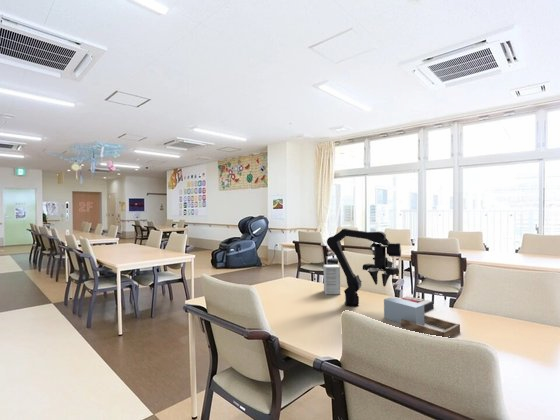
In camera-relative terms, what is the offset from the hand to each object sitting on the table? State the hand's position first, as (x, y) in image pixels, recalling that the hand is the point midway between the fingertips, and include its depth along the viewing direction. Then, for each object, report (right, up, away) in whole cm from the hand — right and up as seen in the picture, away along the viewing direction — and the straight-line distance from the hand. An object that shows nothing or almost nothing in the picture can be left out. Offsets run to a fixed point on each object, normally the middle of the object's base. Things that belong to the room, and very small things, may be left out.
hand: (380, 285), depth 160 cm
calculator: (+19, -12, +2) cm, 23 cm away
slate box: (+5, -12, -18) cm, 22 cm away
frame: (+12, -12, -27) cm, 32 cm away
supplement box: (-20, -12, +31) cm, 39 cm away
